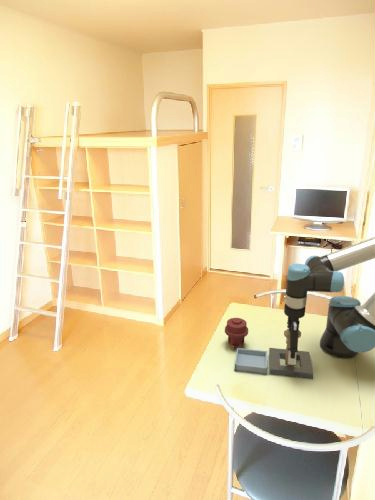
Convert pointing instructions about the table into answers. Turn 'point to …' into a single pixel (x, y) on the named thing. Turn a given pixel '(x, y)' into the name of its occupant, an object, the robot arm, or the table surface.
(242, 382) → the table surface
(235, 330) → the mechanical component
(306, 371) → the slotted grey plate
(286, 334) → the handle
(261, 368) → the tray
